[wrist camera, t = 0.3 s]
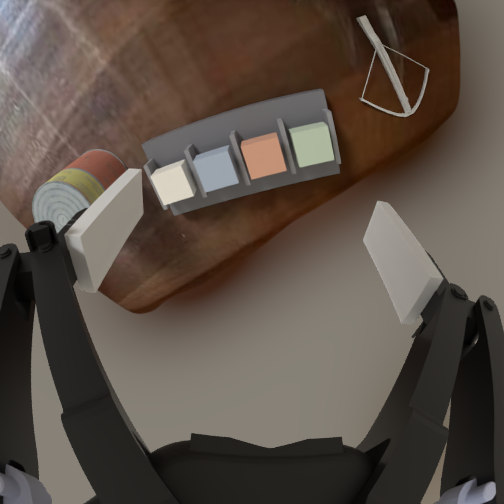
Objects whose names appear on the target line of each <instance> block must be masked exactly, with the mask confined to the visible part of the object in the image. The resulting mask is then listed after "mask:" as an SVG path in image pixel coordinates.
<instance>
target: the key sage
mask: <svg viewBox="0 0 504 504" xmlns="http://www.w3.org/2000/svg"><path fill="white" fill-rule="evenodd" d="M289 132H290V136H291V140H292V143H293V147H294V151H295V155H296V159H297V162H298V165H299V167H305V166H309V165H313V164H318V163H323V162H327V161H332V160H334V154H333V149H332V144H331V139H330V134H329V129H328V126H327V125H326V124H325V123H324V122H319V123H314V124H309V125H305V126H300V127H296V128H291V129H289Z"/></svg>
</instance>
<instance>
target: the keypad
mask: <svg viewBox="0 0 504 504" xmlns="http://www.w3.org/2000/svg"><path fill="white" fill-rule="evenodd" d="M319 122H324V123H325V124H326V125H327V126H328V129H329V134H330V139H331V144H332V149H333V154H334V160H332V161H327V162H323V163H318V164H313V165H309V166H305V167H299V165H298V162H297V159H296V155H295V151H294V147H293V143H292V140H291V136H290V132H289V129H291V128H296V127H300V126H305V125H309V124H314V123H319ZM275 132H276V133H277V137H278V140H279V144H280V147H281V151H282V155H283V158H284V162H285V166H286V170H287V171H283V172H279V173H275V174H271V175H267V176H263V177H260V178H256V179H252V180H251V176H250V173H249V170H248V167H247V164H246V161H245V158H244V155H243V152H242V149H241V142H242V141H244V140H248V139H252V138H255V137H259V136H263V135H267V134H271V133H275ZM227 145H229V146H230V148H231V151H232V154H233V157H234V160H235V163H236V166H237V169H238V171H239V174H240V179H239V183H237V184H234V185H230V186H226V187H223V188H219V189H216V190H213V191H209V192H205V190H204V188H203V185H202V183H201V180H200V178H199V175H198V173H197V170H196V168H195V166H194V163H193V160H194V159H195V157H196V155H199V154H202V153H205V152H208V151H211V150H214V149H217V148H221V147H224V146H227ZM142 147H143V150H144V152H145V154H146V156H147V159H148V162H147V163H146V164H145V165H144V166H143V167H144V169H145V171H146V173H147V176H148V178H149V180H150V182H151V184H152V186H153V188H154V190H155V192H156V194H157V197H158V199H159V201H160V203H161V205H162V207H163V209H164V210H166V209H168V208H169V206H170V208H171V210H172V212H173V214H174V216H175V215H179V214H182V213H185V212H189V211H192V210H195V209H199V208H202V207H206V206H209V205H213V204H216V203H220V202H224V201H227V200H231V199H235V198H238V197H242V196H246V195H250V194H253V193H257V192H261V191H265V190H269V189H273V188H277V187H281V186H285V185H290V184H294V183H298V182H302V181H307V180H311V179H315V178H320V177H324V176H329V175H334V174H338V173H340V168H339V164H341V159H340V154H339V148H338V143H337V137H336V132H335V127H334V122H333V118H332V113H331V111H330V110H328V107H327V103H326V99H325V95H324V91H323V90H322V89H315V90H310V91H305V92H300V93H295V94H291V95H286V96H282V97H278V98H273V99H269V100H265V101H261V102H258V103H254V104H250V105H247V106H243V107H240V108H236V109H233V110H230V111H226V112H223V113H220V114H217V115H214V116H211V117H208V118H205V119H202V120H199V121H196V122H193V123H190V124H188V125H185V126H182V127H180V128H177V129H174V130H172V131H169V132H167V133H164V134H162V135H159V136H157V137H154V138H152V139H150V140H147V141H146V142H144V143H143V144H142ZM184 159H186V162H187V164H188V167H189V169H190V171H191V174H192V176H193V179H194V181H195V183H196V186H197V190H196V192H195V195H194V196H193V197H189V198H186V199H183V200H180V201H177V202H173V203H170V204H167V205H164V204H163V202H162V200H161V198H160V196H159V194H158V192H157V190H156V188H155V186H154V184H153V181H152V179H151V175H152V174H153V173H154V172H155V170H157V169H159V168H162V167H165V166H167V165H170V164H173V163H176V162H178V161H181V160H184Z"/></svg>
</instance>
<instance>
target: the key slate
mask: <svg viewBox="0 0 504 504" xmlns="http://www.w3.org/2000/svg"><path fill="white" fill-rule="evenodd" d="M193 163H194V166H195V168H196V170H197V173H198V175H199V178H200V180H201V183H202V185H203V188H204V190H205V192H209V191H213V190H216V189H219V188H223V187H226V186H230V185H234V184H237V183H239V179H240V174H239V171H238V169H237V166H236V163H235V160H234V157H233V154H232V151H231V148H230V146H229V145H227V146H224V147H221V148H217V149H214V150H211V151H208V152H205V153H202V154H199V155H196V157H195V159H194V160H193Z"/></svg>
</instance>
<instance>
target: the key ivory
mask: <svg viewBox="0 0 504 504" xmlns="http://www.w3.org/2000/svg"><path fill="white" fill-rule="evenodd" d="M151 179H152V181H153V184H154V186H155V188H156V190H157V192H158V194H159V196H160V198H161V200H162V202H163V204H164V205H167V204H170V203H173V202H177V201H180V200H183V199H186V198H189V197H193V196H194V195H195V192H196V190H197V186H196V183H195V181H194V179H193V176H192V174H191V171H190V169H189V167H188V164H187V162H186V159H184V160H181V161H178V162H176V163H173V164H170V165H167V166H165V167H162V168H159V169H157V170H155V172H154V173H153V174H152V175H151Z"/></svg>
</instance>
